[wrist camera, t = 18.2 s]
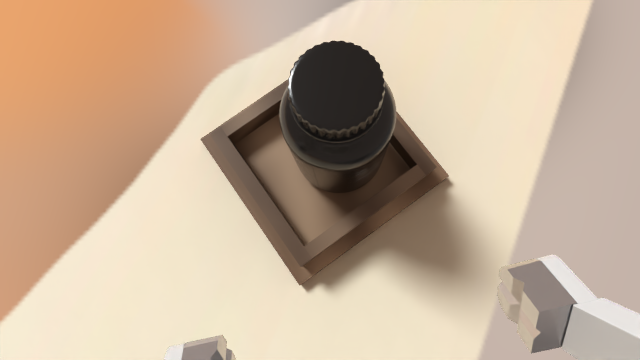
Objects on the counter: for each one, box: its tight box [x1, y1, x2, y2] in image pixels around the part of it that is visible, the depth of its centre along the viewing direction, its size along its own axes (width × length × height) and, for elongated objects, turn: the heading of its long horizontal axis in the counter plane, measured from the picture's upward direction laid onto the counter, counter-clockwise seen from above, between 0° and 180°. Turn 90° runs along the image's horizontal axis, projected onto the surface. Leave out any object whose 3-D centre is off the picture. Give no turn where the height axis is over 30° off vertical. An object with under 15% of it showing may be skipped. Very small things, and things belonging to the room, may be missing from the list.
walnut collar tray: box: [201, 80, 449, 285], centre depth 30 cm, size 14×14×3 cm
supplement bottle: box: [279, 41, 396, 193], centre depth 24 cm, size 7×7×12 cm
